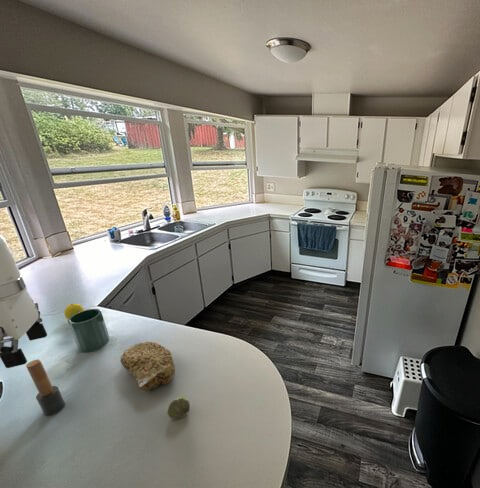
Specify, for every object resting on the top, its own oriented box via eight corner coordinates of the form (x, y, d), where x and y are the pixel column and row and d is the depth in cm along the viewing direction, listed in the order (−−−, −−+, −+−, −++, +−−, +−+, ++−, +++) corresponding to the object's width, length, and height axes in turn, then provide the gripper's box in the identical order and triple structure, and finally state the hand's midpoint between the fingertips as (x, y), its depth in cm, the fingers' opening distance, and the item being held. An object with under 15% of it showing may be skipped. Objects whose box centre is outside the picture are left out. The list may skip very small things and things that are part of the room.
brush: (40, 418, 65) (17, 371, 59) (48, 405, 68) (26, 359, 63) (61, 412, 67) (40, 366, 61) (67, 399, 70) (48, 354, 64)
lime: (193, 409, 68) (190, 396, 67) (176, 425, 64) (173, 412, 63) (182, 402, 70) (179, 389, 68) (165, 418, 66) (162, 404, 64)
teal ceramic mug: (74, 355, 84) (63, 326, 80) (83, 339, 91) (73, 312, 87) (106, 347, 88) (96, 319, 84) (112, 333, 95) (103, 306, 91)
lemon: (64, 324, 99) (57, 307, 96) (79, 315, 104) (73, 299, 101) (75, 326, 98) (69, 308, 95) (90, 317, 103) (84, 301, 101)
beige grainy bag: (182, 380, 78) (167, 336, 91) (173, 367, 74) (159, 322, 86) (132, 409, 71) (124, 357, 84) (120, 397, 67) (113, 344, 79)
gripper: (-2, 276, 60) (26, 333, 66) (-61, 315, 46) (-19, 384, 52) (41, 270, 64) (64, 325, 69) (-2, 305, 49) (31, 371, 55)
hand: (28, 350), depth 61 cm, fingers open, 9 cm apart
